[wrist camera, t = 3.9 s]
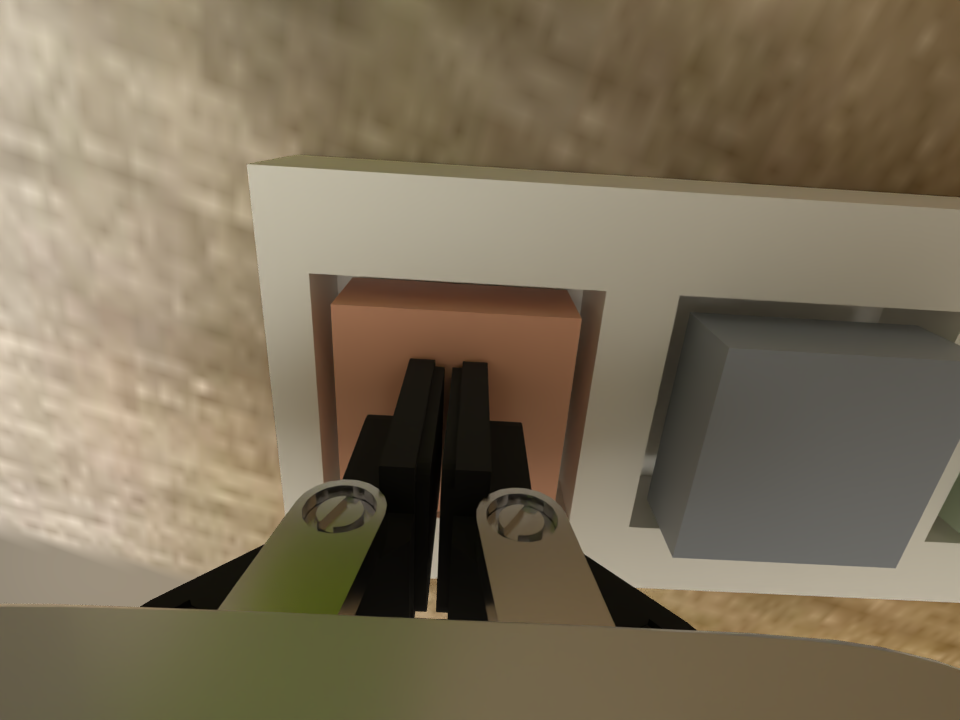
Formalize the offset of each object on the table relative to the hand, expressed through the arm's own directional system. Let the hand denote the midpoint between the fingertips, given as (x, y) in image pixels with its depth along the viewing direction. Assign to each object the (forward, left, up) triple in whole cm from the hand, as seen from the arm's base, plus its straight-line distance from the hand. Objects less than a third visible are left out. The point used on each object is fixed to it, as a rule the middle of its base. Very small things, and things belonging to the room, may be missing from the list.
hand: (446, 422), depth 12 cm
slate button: (-8, 0, -1) cm, 8 cm away
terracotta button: (0, 0, -2) cm, 2 cm away
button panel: (-8, 0, -3) cm, 8 cm away
